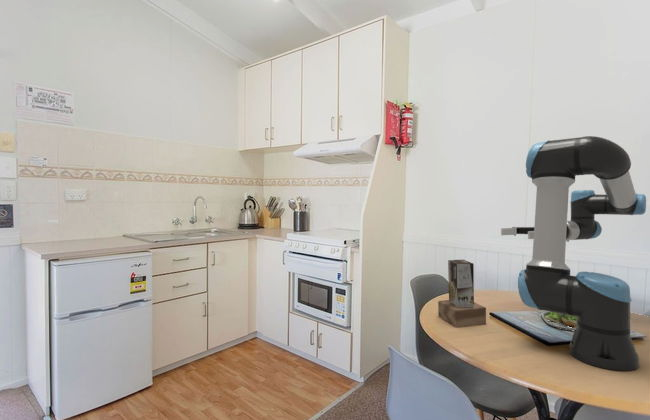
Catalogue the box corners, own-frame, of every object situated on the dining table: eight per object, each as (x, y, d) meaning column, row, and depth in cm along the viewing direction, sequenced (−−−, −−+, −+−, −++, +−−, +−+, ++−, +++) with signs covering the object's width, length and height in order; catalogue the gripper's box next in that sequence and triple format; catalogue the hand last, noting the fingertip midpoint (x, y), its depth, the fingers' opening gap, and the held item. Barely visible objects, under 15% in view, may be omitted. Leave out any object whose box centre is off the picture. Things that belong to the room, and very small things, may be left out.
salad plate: (614, 340, 109) (614, 325, 109) (548, 332, 116) (548, 319, 116) (594, 319, 127) (594, 307, 127) (538, 314, 134) (538, 302, 134)
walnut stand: (486, 324, 124) (485, 307, 124) (456, 327, 122) (456, 310, 122) (466, 313, 136) (465, 298, 136) (438, 316, 134) (438, 300, 134)
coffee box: (474, 307, 124) (474, 263, 124) (457, 308, 124) (456, 264, 124) (464, 300, 134) (464, 259, 133) (448, 300, 134) (447, 259, 133)
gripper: (592, 244, 121) (541, 247, 117) (535, 237, 146) (492, 239, 142) (592, 223, 121) (541, 226, 117) (535, 219, 146) (491, 221, 141)
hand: (514, 233), depth 129 cm, fingers open, 13 cm apart
